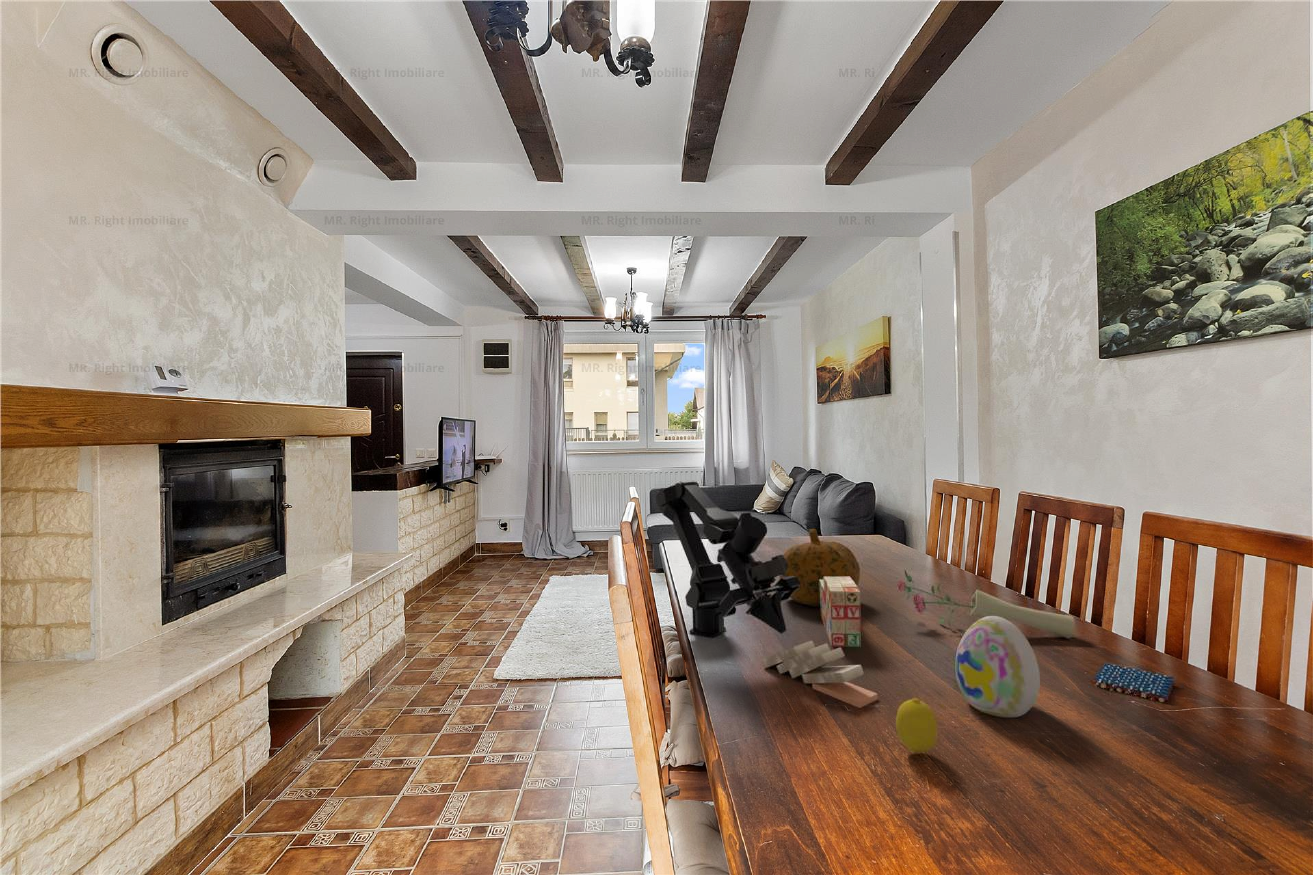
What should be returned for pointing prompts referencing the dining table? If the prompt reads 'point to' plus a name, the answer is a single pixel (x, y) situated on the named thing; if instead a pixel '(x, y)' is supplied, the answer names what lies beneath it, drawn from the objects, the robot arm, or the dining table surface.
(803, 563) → the decorative pumpkin
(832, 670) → the domino
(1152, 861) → the dining table surface
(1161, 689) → the woven mat
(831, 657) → the domino
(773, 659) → the domino
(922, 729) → the lemon
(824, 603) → the stack of blocks
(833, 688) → the domino
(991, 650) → the decorative egg
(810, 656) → the domino
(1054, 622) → the flower vase
